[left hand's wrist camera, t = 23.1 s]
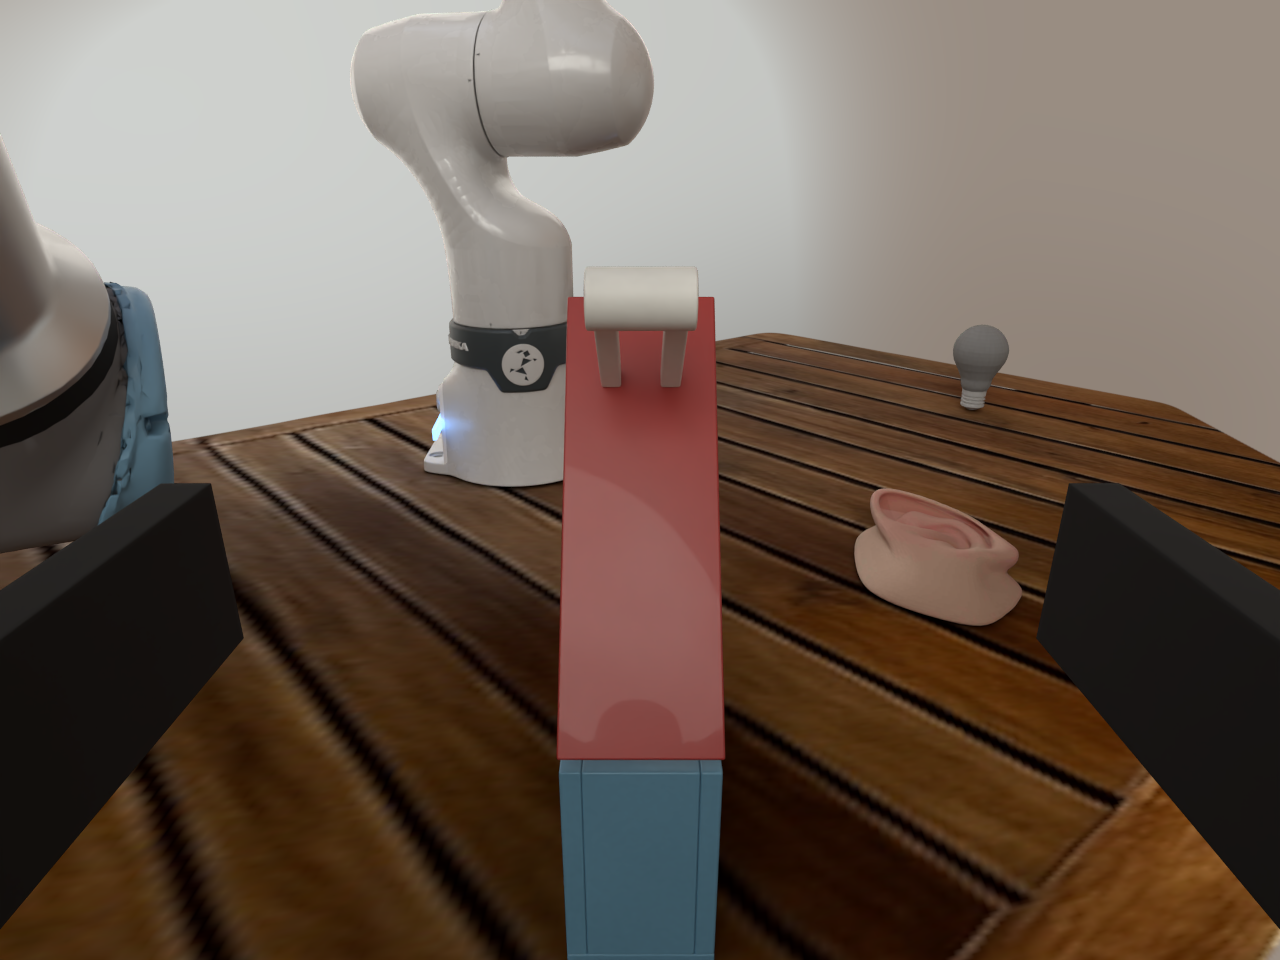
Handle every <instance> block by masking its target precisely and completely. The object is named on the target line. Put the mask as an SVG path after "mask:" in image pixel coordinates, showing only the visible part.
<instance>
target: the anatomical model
mask: <svg viewBox="0 0 1280 960" xmlns="http://www.w3.org/2000/svg"><path fill="white" fill-rule="evenodd" d="M870 509H871V513H872V517H873V519H874V522H875V524H876V525H875V526H873V527H871V528H869V529H867V530H865V531H864V532H862V533H861V534H860V535H859V536H858V538H857V540H856V543H855V552H854V555H855V563H856V568H857V572H858V574H859V577H860V579H861V581H862V582H863V584H864V585H865V586H866V587H867V588H868V589H869V590H870V591H871V592H872V593H874V594H875V595H877V596H879V597H880V598H882V599H884V600H886V601H889V602H891V603H893V604H896V605H898V606H901V607H903V608H906V609H909V610H912V611H915V612H918V613H921V614H924V615H928V616H931V617H935V618H938V619H942V620H946V621H950V622H954V623H959V624H965V625H972V626H982V625H988V624H991V623H994V622H995V621H997V620H999V619H1001V618H1002V617H1003V616H1004V615H1006V614H1007V613H1008V612H1009V611H1010V610H1012V609H1013V608H1014V607H1015V606H1016V604H1017V603H1018V601H1019V600H1020V598H1021V596H1022V589H1021V587H1020V586H1019V584H1018V583H1017V582H1016V581H1015V580H1014V579H1013V578H1012V577H1011V576H1009V574H1008V573H1007V570H1008V569H1009V568H1011V567H1012V566H1013V565H1014V564H1015V563H1016V562H1017V560H1018V557H1019V553H1018V551H1017V549H1016V548H1015V547H1014V546H1012V545H1011V544H1010V543H1008V542H1007V541H1006V540H1004V539H1003V538H1001V537H1000V536H999V535H997V534H996V533H994V532H993V531H992V530H990V529H989V528H987V527H986V526H985V525H983V524H982V523H980V522H979V521H977V520H976V519H974V518H972V517H970V516H969V515H967V514H965V513H963V512H961V511H958V510H956V509H954V508H951V507H949V506H947V505H944V504H941V503H939V502H936V501H934V500H931V499H928V498H925V497H922V496H919V495H915V494H912V493H909V492H904V491H900V490H895V489H879V490H877V491H875V492H874V493H873V495H872V497H871V501H870Z"/></svg>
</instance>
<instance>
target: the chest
mask: <svg viewBox="0 0 1280 960" xmlns="http://www.w3.org/2000/svg"><path fill="white" fill-rule="evenodd" d="M722 780H723V771H722V764H721V760H561V761H560V768H559V787H560V808H561V830H562V851H563V873H564V894H565V916H566V938H567V959H568V960H714V949H715V928H716V907H717V886H718V864H719V843H720V822H721V801H722Z"/></svg>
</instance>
